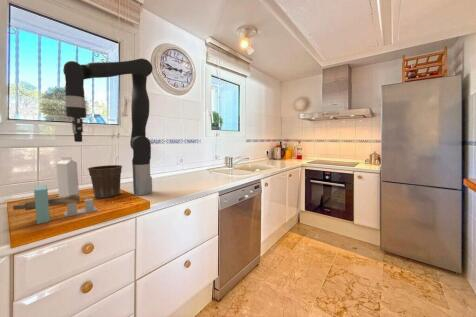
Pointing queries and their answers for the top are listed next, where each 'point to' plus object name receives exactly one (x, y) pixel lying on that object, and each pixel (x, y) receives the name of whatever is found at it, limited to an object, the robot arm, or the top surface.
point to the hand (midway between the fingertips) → (78, 141)
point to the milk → (67, 177)
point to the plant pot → (105, 180)
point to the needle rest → (88, 208)
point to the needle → (49, 202)
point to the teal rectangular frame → (41, 204)
